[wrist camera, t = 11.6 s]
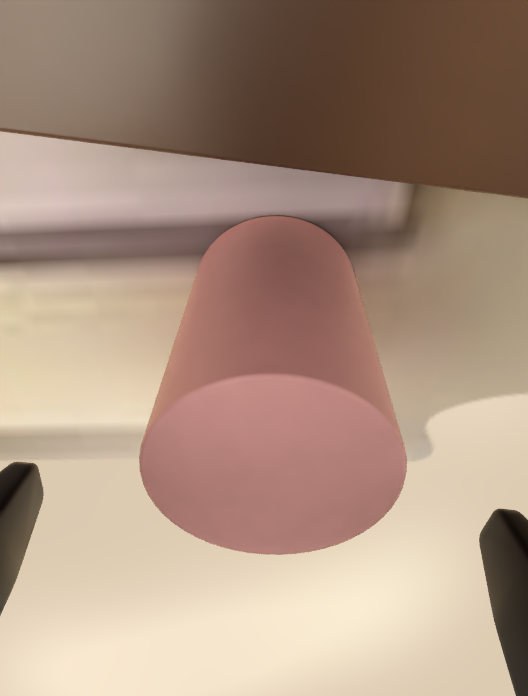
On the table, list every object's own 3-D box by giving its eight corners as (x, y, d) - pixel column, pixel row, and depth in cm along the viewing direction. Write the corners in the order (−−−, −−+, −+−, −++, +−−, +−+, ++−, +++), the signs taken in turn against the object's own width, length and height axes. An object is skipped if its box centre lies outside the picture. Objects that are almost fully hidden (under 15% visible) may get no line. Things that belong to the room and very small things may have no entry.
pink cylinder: (377, 323, 17) (440, 519, 10) (243, 376, 18) (223, 577, 12) (316, 183, 14) (347, 330, 8) (164, 259, 16) (81, 436, 9)
